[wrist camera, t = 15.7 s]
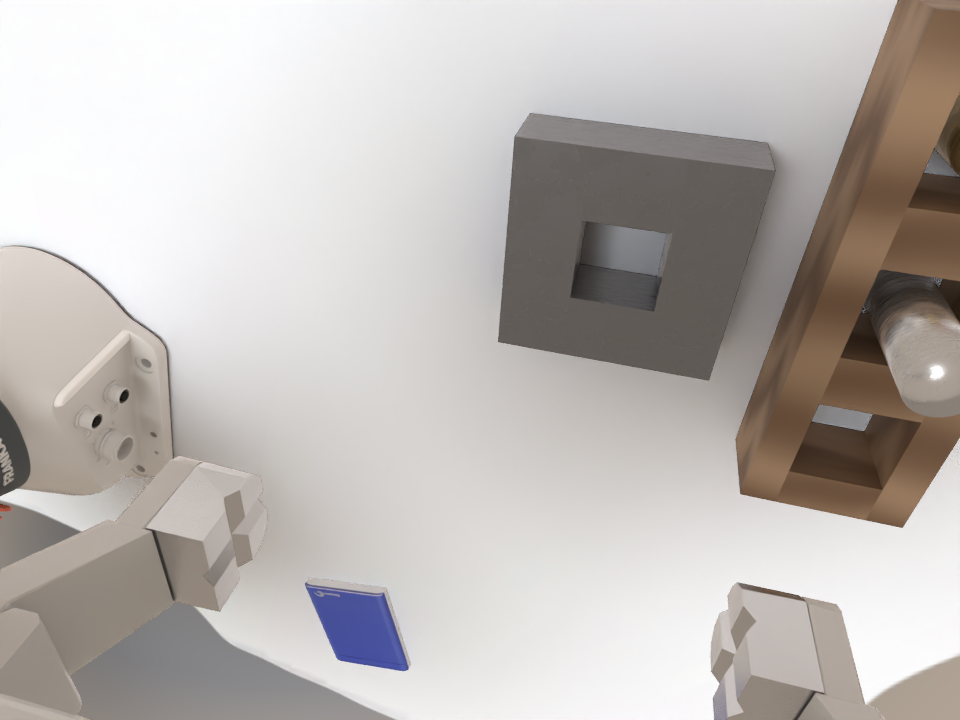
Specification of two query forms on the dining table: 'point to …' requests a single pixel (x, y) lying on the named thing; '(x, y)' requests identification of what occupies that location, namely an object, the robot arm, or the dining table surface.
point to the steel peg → (917, 341)
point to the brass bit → (951, 138)
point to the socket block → (634, 204)
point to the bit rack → (865, 296)
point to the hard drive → (359, 623)
